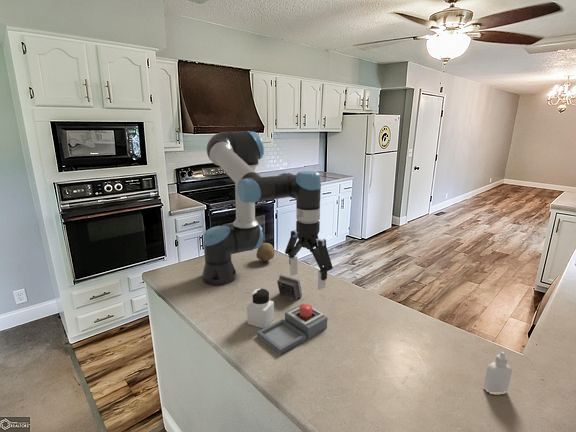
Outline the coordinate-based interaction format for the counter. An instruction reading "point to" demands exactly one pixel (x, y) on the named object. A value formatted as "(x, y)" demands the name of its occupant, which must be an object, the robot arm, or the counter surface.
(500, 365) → the eye dropper bottle
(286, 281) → the electrical switch
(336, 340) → the counter surface
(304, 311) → the button
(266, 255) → the natural sponge
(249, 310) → the medicine bottle
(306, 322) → the console
